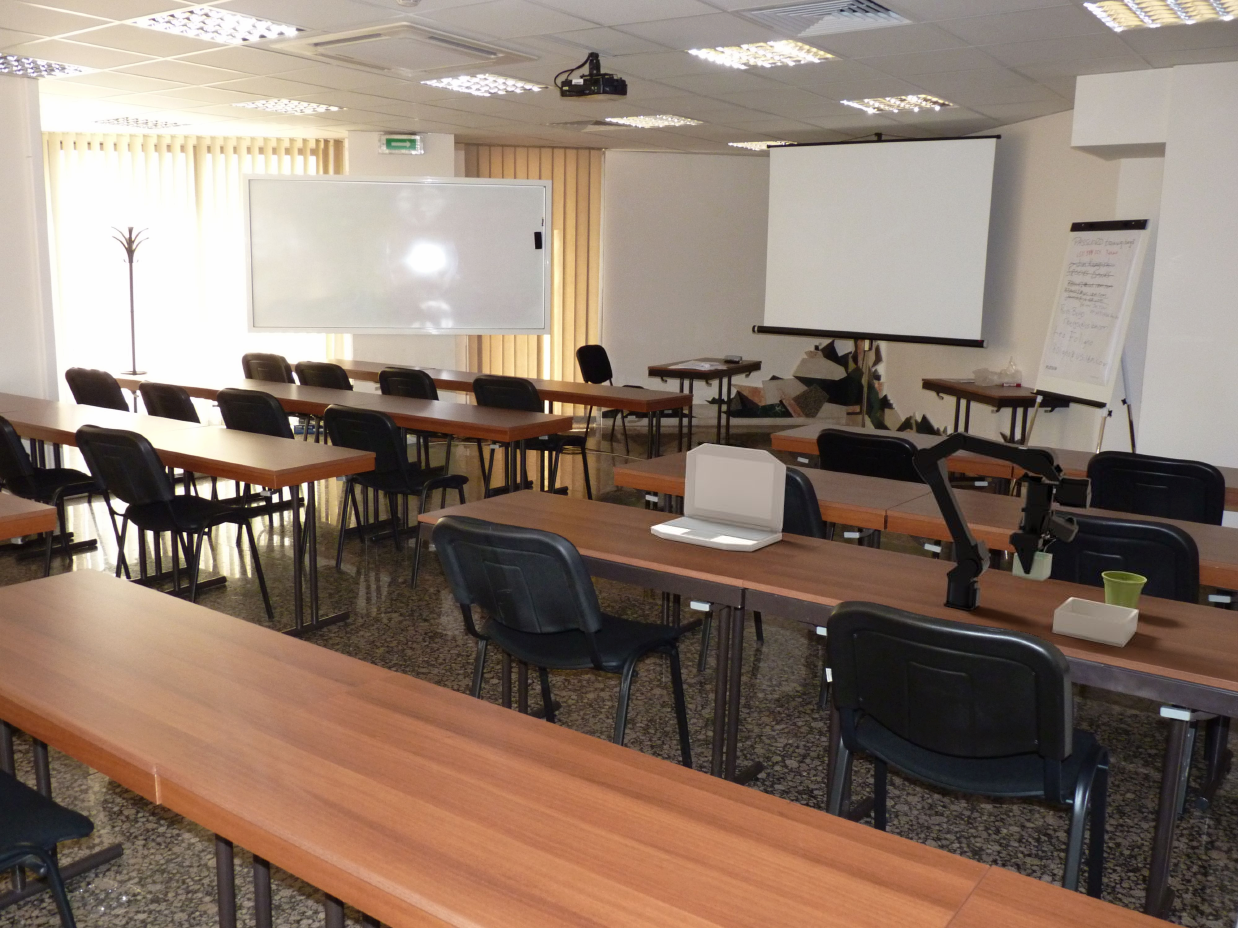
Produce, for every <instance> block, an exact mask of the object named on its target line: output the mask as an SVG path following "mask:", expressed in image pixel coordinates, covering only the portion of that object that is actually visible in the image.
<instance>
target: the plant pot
mask: <svg viewBox="0 0 1238 928" xmlns="http://www.w3.org/2000/svg"><path fill="white" fill-rule="evenodd" d="M1101 577H1102V578H1103V582H1104V597H1105V604H1110V605H1115V606H1121V607H1126V608H1131V609H1136V610H1137V605H1138V604H1139V603H1138V602H1139V599H1140V596H1141V592H1142V588H1144V586H1145V584H1146V583H1147V581H1148V579H1147V578H1146V577H1145V576H1142V575H1139V574H1135V573H1130V572H1126V571H1113V570H1112V571H1111V570H1110V571H1104V572H1102V573H1101Z"/></svg>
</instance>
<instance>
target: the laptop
mask: <svg viewBox="0 0 1238 928" xmlns="http://www.w3.org/2000/svg"><path fill="white" fill-rule="evenodd" d="M685 459H686V463H685V465H686V466H685V481H684V482H685V483H684V505H683V507H684V508H683V513H684V516H682V517H679V518H675V519H672V520H668V521H666V522H662V523H660V524H656V525H653V526H650V531H651V534H652V535H655V536H656V537H660V538H661V539H665V540H668V541H669V540H670V541H675V542H681V543H685V544H692V545H697V546H702V547H707V548H713V549H719V550H722V551H723V550H724V551H734V552H736V551H737V552H753V551H756V550H758V549H761V548H763V547H767V546H769V545H771V544H774V543H776V542H779V541H781V540H782V538H783V537H782V535H783V533H782V529H783V524H784V508H785V507H784V505H785V494H786V493H785V489H786V477H787V476H786V474H787V466H786V465H785V463H783V462H782V461H780V460H779V458H776V457H775V456H774V455H772V454H771V453H770V452H769V451H767V450H764V449H756V448H755V449H754V448H746V447H738V446H730V445H720V444H715V443H714V444H712V443H706V442H705V443H703V444H701V445H698V446H696V447H695V448H693V449H692V450H691V449H690V450H689V451H687V452H686V458H685Z"/></svg>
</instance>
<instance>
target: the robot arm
mask: <svg viewBox="0 0 1238 928" xmlns="http://www.w3.org/2000/svg"><path fill="white" fill-rule="evenodd" d="M959 451H965V452H968V453H973V454H976V455H980V456H984V457H989V458H993V459H997V460H1001V461H1005V462H1008V463H1011V464H1013V465H1015V466H1017V467H1019V468H1021V469H1022V470H1024V471H1025V472H1024V473H1023V474H1022V475H1021V476H1020V477H1018V478H1017V479H1016V481H1017V482H1019V483H1026V485H1025V494H1024V495H1025V496H1024V506H1022V507H1021V510H1020V511H1021V513H1023V514H1022V515H1023V516H1022V517H1023V518H1022V524H1020V525H1019V528H1018V530H1016V531H1014V532H1013V533H1011V534H1010V535H1009V537H1008V540H1009V541H1008V545H1012V547H1014V548H1013V549H1014V550H1015V552H1016V553H1017V555H1018V558H1019V560H1020V563H1021V566H1022V568H1023V571H1024V573H1025V574H1028V575H1029V574H1030V572H1031V569H1032V565H1033V562H1034V558H1035V554H1036V552H1042V553H1046V550H1047V548H1048V546H1049V545H1051V544H1052V543H1053V542H1054V541H1055V542H1056V540H1057V539H1056V538H1059V539H1061V541H1063V542H1066V543H1069V542H1071V541H1073V539H1074V537H1075V535H1076V533H1077V532H1078V531H1079V525H1078V524H1077V518H1076V517H1074V516H1072V515H1069V516H1067V517H1066V518H1063V517H1059V516H1057V515H1056V509H1055V508H1053V501H1055V502H1056V503H1057V504H1059V506H1060V507H1062V508H1063V507H1064V508H1071V509H1078V510H1085V511H1088V510H1089V508H1090V504H1091V500H1092V486H1091V481H1092V479H1091V478H1088V477H1081V478H1080V477H1071V476H1067V474H1066V473H1065V471H1064V470H1063V468H1062V466H1061V464H1060V463H1059V461H1060V460H1059V454H1058V453H1057V452H1056V450H1055V449H1053V448H1051V447H1049V446H1043V445H1042V446H1041V445H1040V446H1037V445H1019V444H1018V445H1017V444H1013V443H1010V442H1009V443H1008V442H1005V441H1001V440H996V439H993V438H988V437H984V436H980V435H977V434H976V435H975V434H971V433H968V432H966V431H963V430H962V431H961V430H960V431H957V432H953V433H952V434H951V435H950V436H949V437H947V438H946V439H943V440H942V441H940V442H938V443H936V444H934V445H929V446H924V447H922V448H919V449H918V450H916V451H915V452H914V454H913V456H912V457H911V458H912V465H913V466H914V468H915V470H916V471H917V474H918V475H919V476H920V477H921V478H922V480H923V481H924V482H925V483H926V484H927V485H928V486H929V488H930V490H931V492H932V495H933V497H934V499H935V501H936V504H937V506H938V508H939V510H940V513H941V515H942V518H943V519H944V522H945V525H946V527H947V529H948V532H949V533H950V534H949V535H950V537H951V539H952V542H953V548H954V549H953V550H954V558H955V563H956V566H955V567H953V568H952V569H950V570H948V572H946V577H947V585H946V597H945V601H944V602H943V604H942V605H943V606H945V607H951V608H956V609H959V610H965V611H972V610H974V609H975V608H977V607H978V606H979V605H980V596H981V588H980V587H979V580H976V579H978V578H979V576H981V575H982V574H984V572H986V571H987V570H988V568H989V566H990V564H991V562H990V561H991V560H990V557H991V556H992V555H991V553H990V552H989V551H988V549H987V545H986V542H985V540H984V539H981V540H980V541H978V539H976V538H975V537H974V535H973V534H972V531H971V530H970V527H969V525H968V522H967V520H966V518H965V515H964V513H963V511H962V509H961V507H960V503H959V502H958V499H957V498H956V497H957V496H956V495H955V492H954V489H953V488H952V486H951V482H950V481H949V475H948V474H949V473H948V465H947V460H946V459H948V458H949V457H951V456H952V455H955V454H956V453H958V452H959ZM1031 473H1032V474H1031ZM1033 474H1034V475H1033ZM1054 490H1055V491H1054ZM1050 535H1053V537H1050Z"/></svg>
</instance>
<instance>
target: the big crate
mask: <svg viewBox="0 0 1238 928" xmlns="http://www.w3.org/2000/svg"><path fill="white" fill-rule="evenodd" d="M1138 618H1139V609H1137V608H1136V609H1131V608H1126V607H1121V606H1115V605H1110V604H1105V603H1104V602H1099V601H1095V600H1094V601H1093V600H1089V599H1084V598H1079V597H1069V598H1068V599H1067V600H1065V601H1064V602H1063V603H1061V605H1059V606H1058V607H1057V608H1056V609H1055V610H1054V613H1053V623H1052V631H1051V632H1052V634H1053V633H1054V634H1057V635H1062V636H1067V637H1072V638H1077V639H1080V640H1081V639H1082V640H1086V641H1091V642H1095V643H1101V644H1105V645H1109V646H1113V647H1118V648H1119V647H1120V648H1124V646H1125V645H1126V644H1127V643H1128V642H1129V641H1130V640H1131V638H1133V636H1134V635H1135V634H1136V633H1137V626H1138V621H1139V619H1138ZM1135 632H1136V633H1135Z"/></svg>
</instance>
